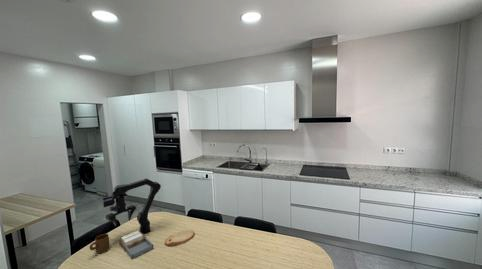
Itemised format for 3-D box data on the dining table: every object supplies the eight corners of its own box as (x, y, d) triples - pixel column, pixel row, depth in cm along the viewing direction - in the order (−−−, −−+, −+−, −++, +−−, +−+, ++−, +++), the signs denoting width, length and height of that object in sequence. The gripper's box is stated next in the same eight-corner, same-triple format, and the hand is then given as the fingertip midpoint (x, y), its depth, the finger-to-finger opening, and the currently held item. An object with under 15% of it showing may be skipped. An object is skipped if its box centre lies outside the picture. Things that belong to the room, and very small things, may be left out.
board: (140, 235, 147) (140, 231, 147) (146, 241, 139) (146, 237, 139) (119, 243, 137) (119, 239, 137) (125, 251, 129) (124, 247, 129)
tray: (146, 241, 139) (146, 237, 139) (153, 248, 131) (153, 244, 131) (125, 251, 129) (125, 247, 129) (131, 259, 121) (131, 255, 121)
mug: (95, 259, 122) (94, 245, 121) (86, 257, 124) (85, 243, 123) (112, 247, 133) (111, 234, 133) (103, 245, 135) (102, 232, 135)
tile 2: (140, 235, 141) (140, 233, 141) (142, 237, 139) (142, 235, 138) (123, 242, 133) (123, 240, 133) (125, 245, 131) (125, 242, 130)
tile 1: (138, 233, 145) (137, 230, 145) (140, 235, 142) (139, 232, 142) (121, 240, 137) (121, 237, 136) (123, 242, 134) (123, 239, 134)
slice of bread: (196, 232, 149) (196, 228, 149) (187, 248, 131) (187, 242, 131) (174, 231, 151) (173, 227, 151) (162, 246, 133) (162, 241, 133)
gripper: (127, 196, 153) (129, 215, 154) (100, 206, 137) (103, 226, 138) (135, 198, 147) (137, 218, 148) (108, 209, 131) (111, 231, 132)
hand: (122, 223), depth 142 cm, fingers open, 9 cm apart
